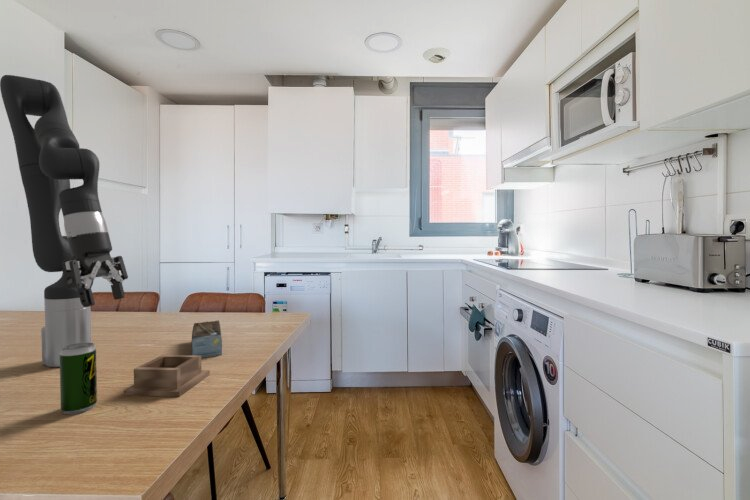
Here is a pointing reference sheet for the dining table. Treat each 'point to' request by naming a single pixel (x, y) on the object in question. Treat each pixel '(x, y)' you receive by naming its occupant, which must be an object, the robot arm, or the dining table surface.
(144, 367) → the walnut holder
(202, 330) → the beverage carton
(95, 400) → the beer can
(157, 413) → the dining table surface
